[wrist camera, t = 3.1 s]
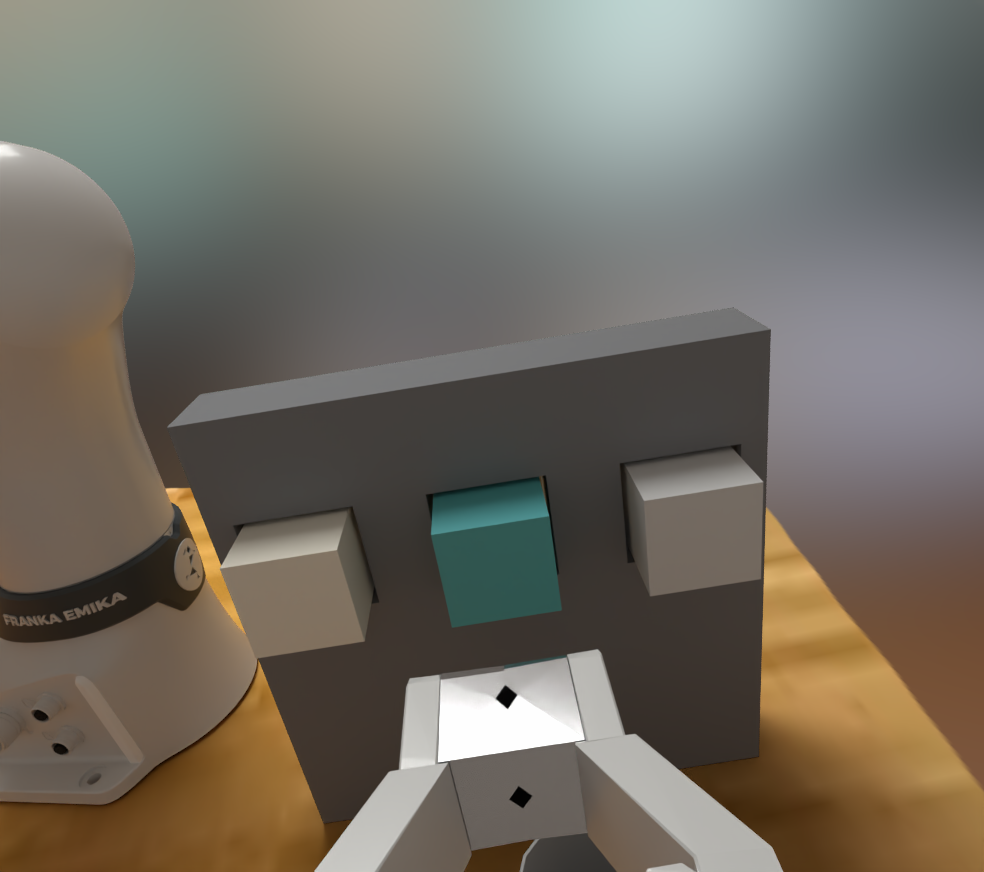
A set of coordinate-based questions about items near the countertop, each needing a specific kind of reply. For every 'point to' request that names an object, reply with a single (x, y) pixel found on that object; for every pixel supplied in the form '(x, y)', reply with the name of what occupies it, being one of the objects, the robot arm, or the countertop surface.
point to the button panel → (488, 460)
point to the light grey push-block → (693, 519)
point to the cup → (565, 855)
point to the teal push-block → (495, 552)
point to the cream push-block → (300, 582)
